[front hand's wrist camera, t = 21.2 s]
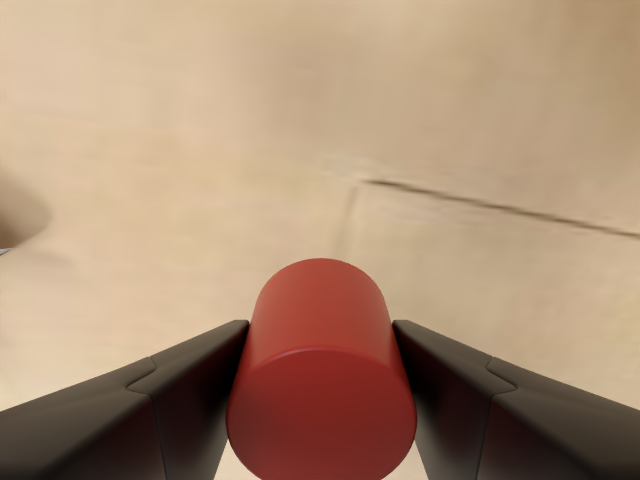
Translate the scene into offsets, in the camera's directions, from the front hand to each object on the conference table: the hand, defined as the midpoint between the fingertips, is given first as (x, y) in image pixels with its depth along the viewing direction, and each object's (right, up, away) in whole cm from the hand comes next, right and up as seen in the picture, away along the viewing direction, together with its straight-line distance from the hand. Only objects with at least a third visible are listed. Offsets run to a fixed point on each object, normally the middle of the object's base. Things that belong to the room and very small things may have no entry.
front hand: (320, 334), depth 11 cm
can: (0, 0, +1) cm, 1 cm away
